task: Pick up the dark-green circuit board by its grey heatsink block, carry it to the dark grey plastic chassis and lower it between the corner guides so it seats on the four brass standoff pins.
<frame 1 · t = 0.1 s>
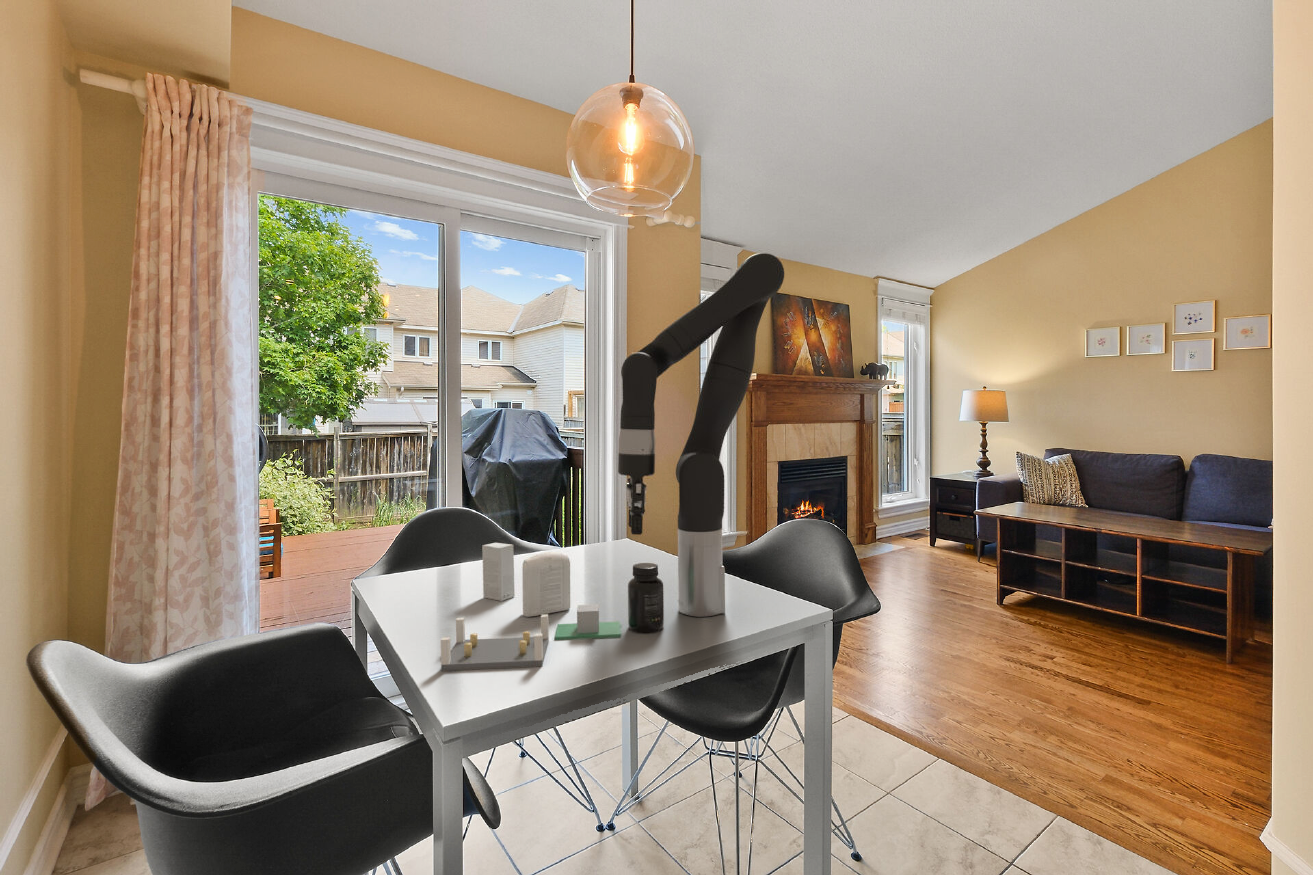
hand: (635, 530, 124), 17 cm above the table, tool pointing down, fingers open, 8 cm apart
module board: (588, 634, 115), on the table
skincare box: (498, 598, 138), on the table
white rounded block: (547, 612, 127), on the table
chassis: (498, 655, 103), on the table
supplement bottle: (646, 628, 116), on the table
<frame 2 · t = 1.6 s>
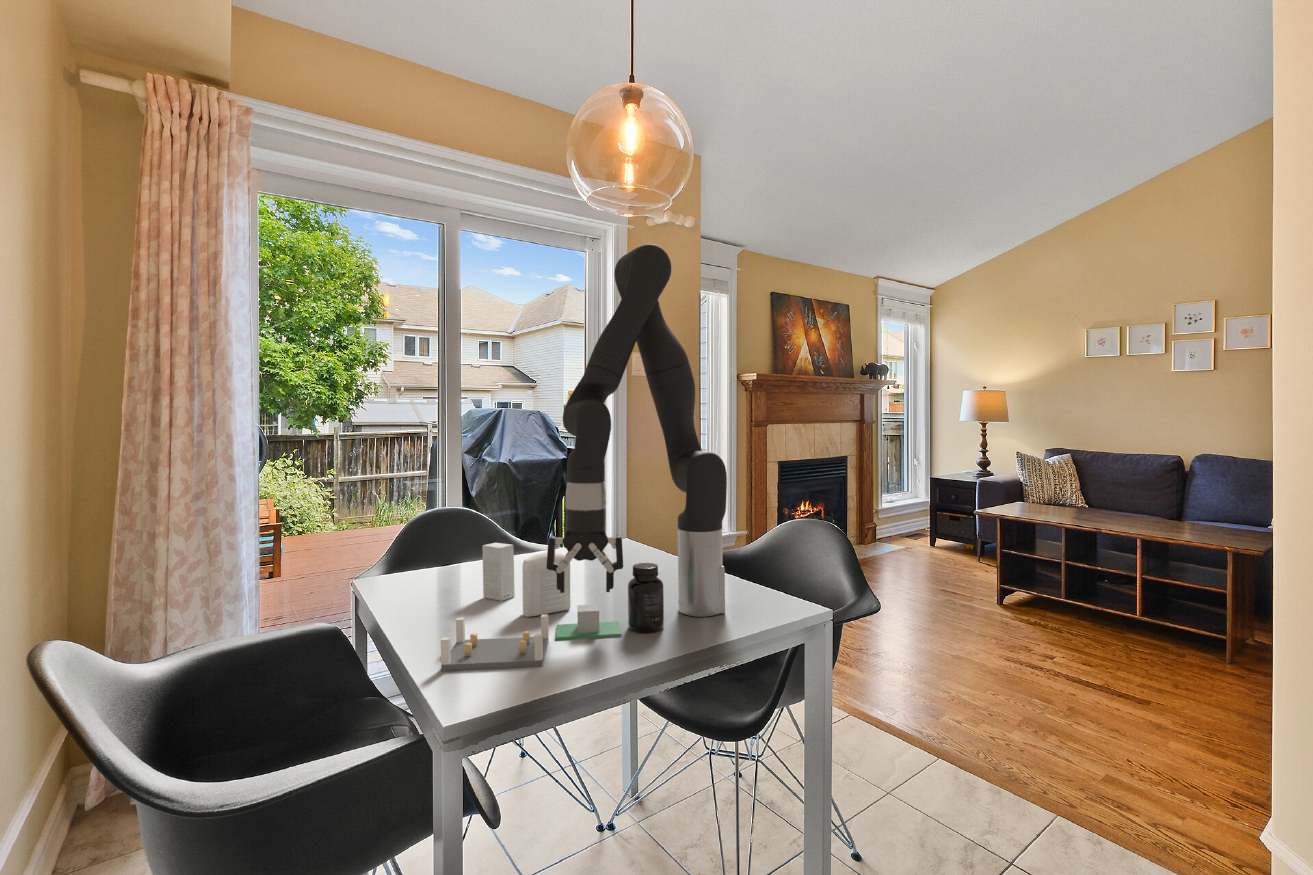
hand: (585, 591, 114), 8 cm above the table, tool pointing down, fingers open, 8 cm apart
nothing on the table moved.
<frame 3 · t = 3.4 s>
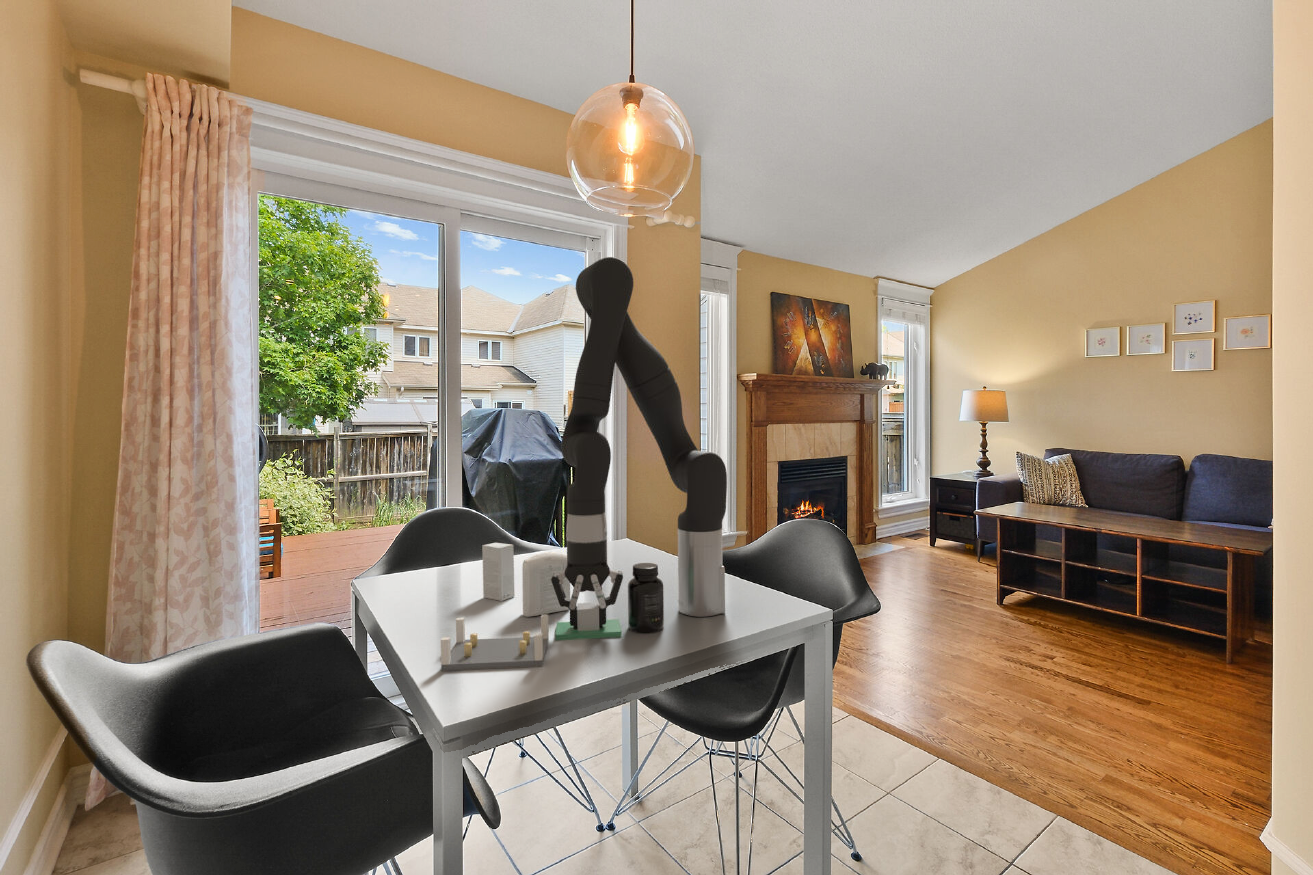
hand: (588, 626, 115), 1 cm above the table, tool pointing down, fingers closed on module board, 4 cm apart
module board: (588, 632, 115), on the table, touching gripper
everything else where it was.
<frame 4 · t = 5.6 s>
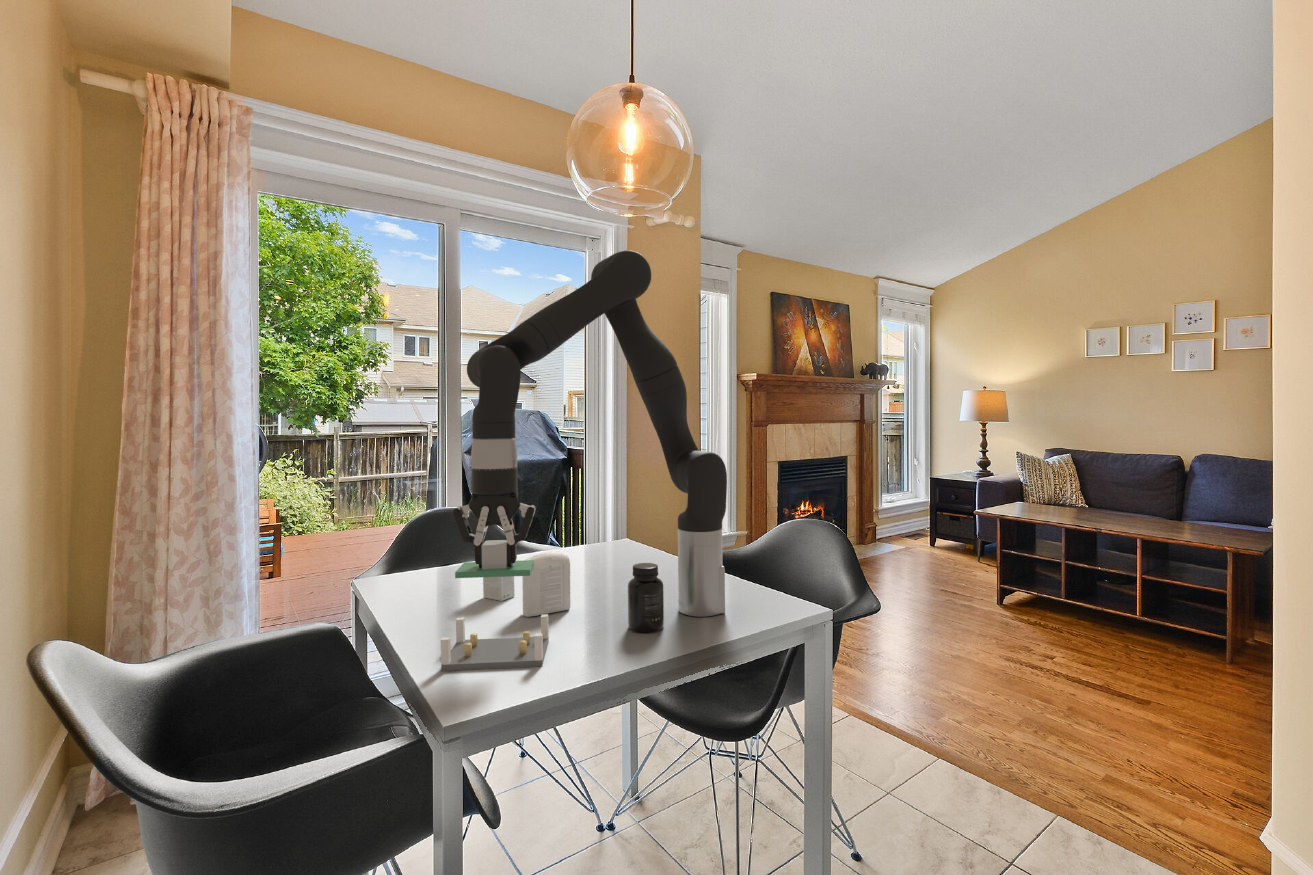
hand: (495, 565, 103), 15 cm above the table, tool pointing down, fingers closed on module board, 4 cm apart
module board: (496, 571, 103), point 14 cm above the table, touching gripper
everything else where it was.
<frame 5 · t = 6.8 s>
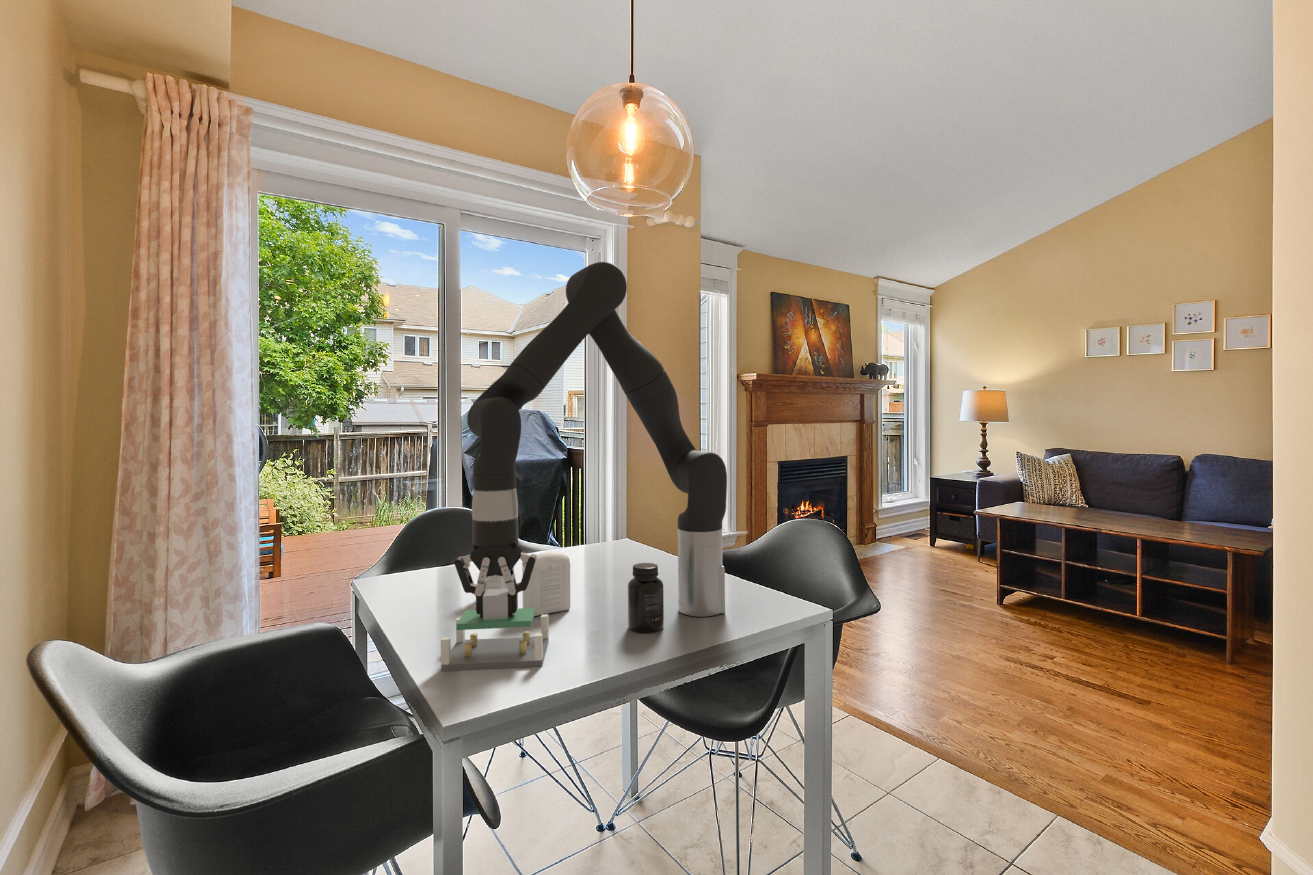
hand: (497, 615, 103), 7 cm above the table, tool pointing down, fingers closed on module board, 4 cm apart
module board: (497, 621, 103), point 6 cm above the table, touching gripper
everything else where it was.
when the fingers open (5 cm above the table, at t = 7.8 s): module board drops 1 cm, resting on chassis.
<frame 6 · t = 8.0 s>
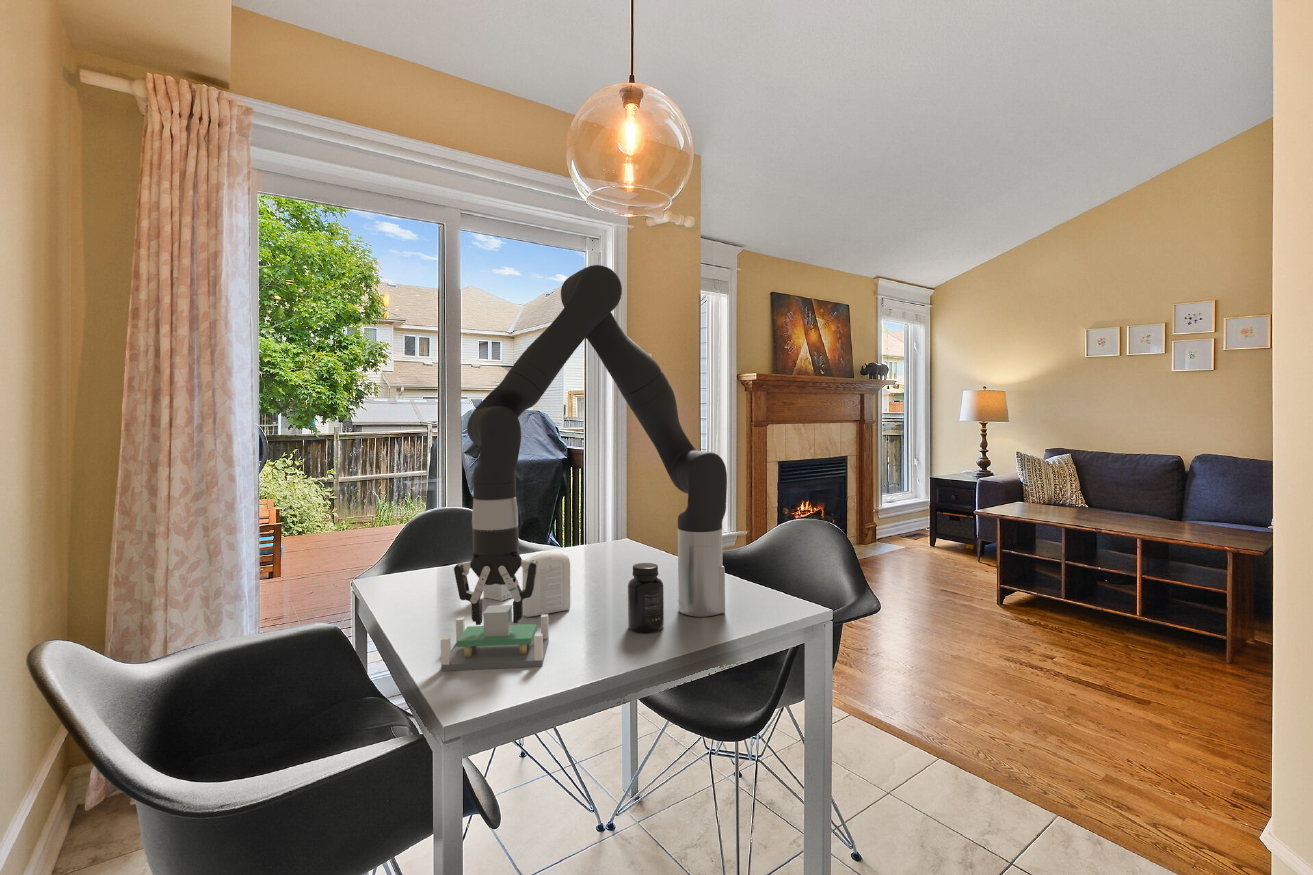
hand: (497, 622, 103), 6 cm above the table, tool pointing down, fingers open, 5 cm apart
module board: (498, 637, 103), point 3 cm above the table, touching chassis
everything else where it was.
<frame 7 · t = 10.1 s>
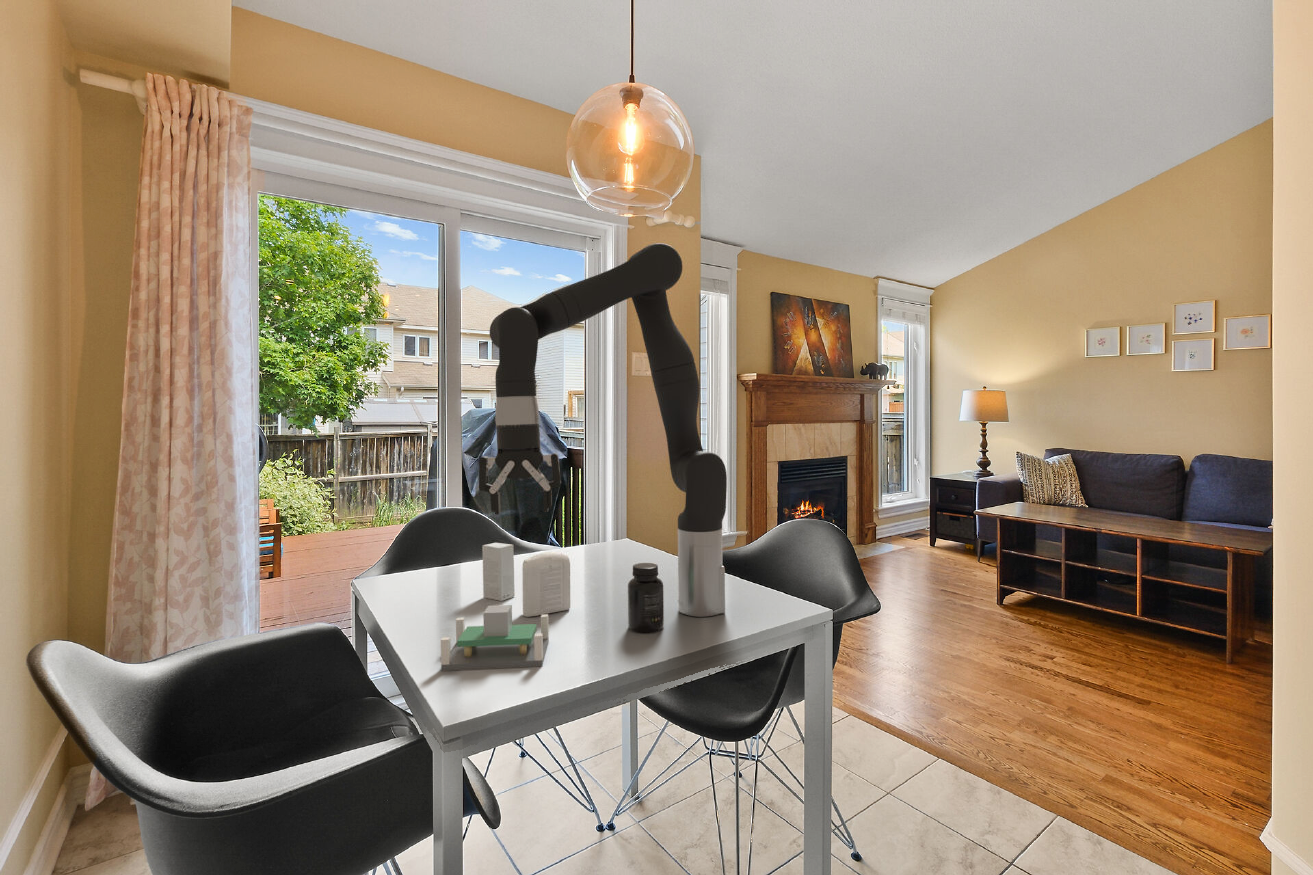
hand: (522, 512, 109), 23 cm above the table, tool pointing down, fingers open, 8 cm apart
nothing on the table moved.
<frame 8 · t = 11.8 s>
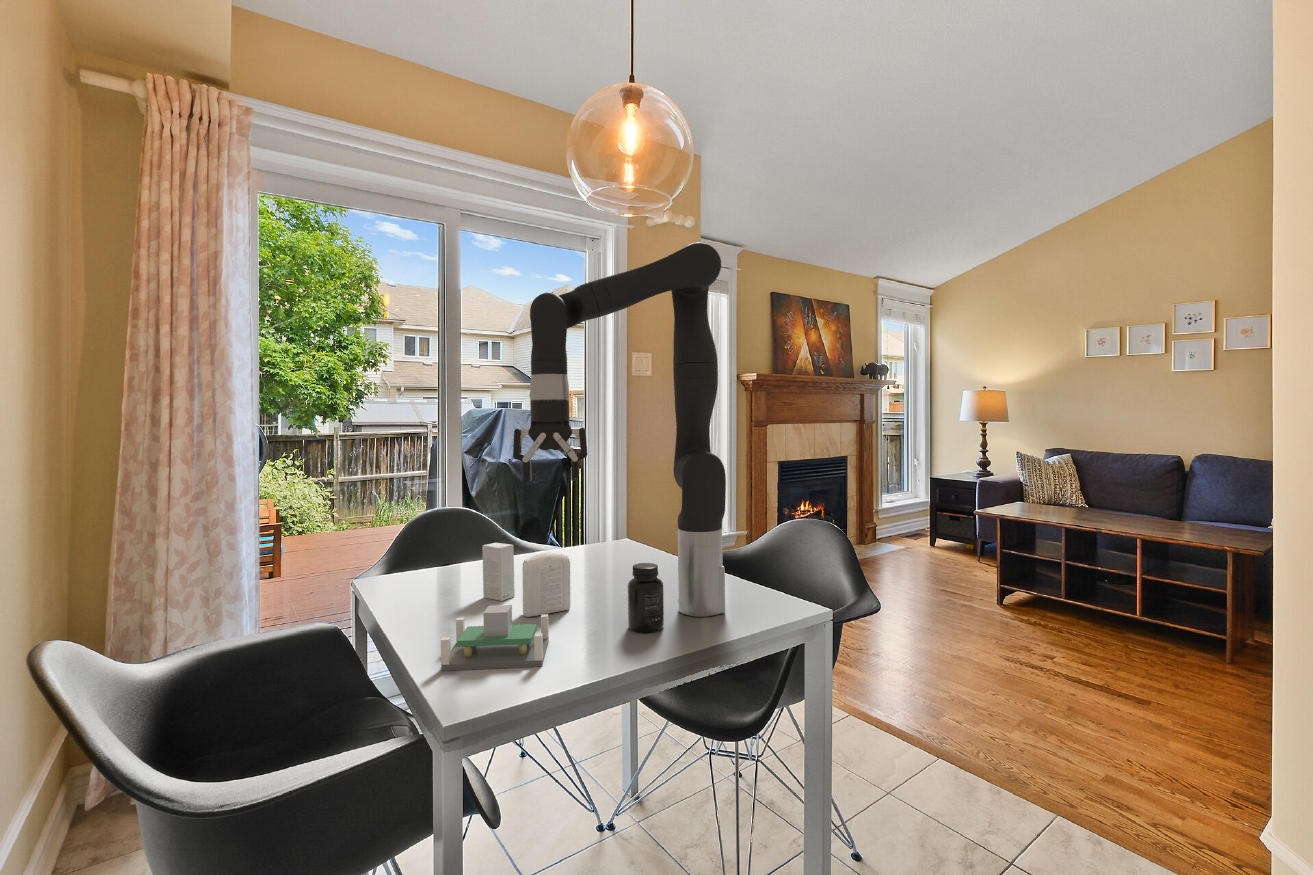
hand: (551, 480, 119), 28 cm above the table, tool pointing down, fingers open, 8 cm apart
nothing on the table moved.
at the end: module board 0.1 cm off-centre on the chassis, point 3.0 cm above the chassis's base; module board tilted 0°; the gripper is holding nothing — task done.
